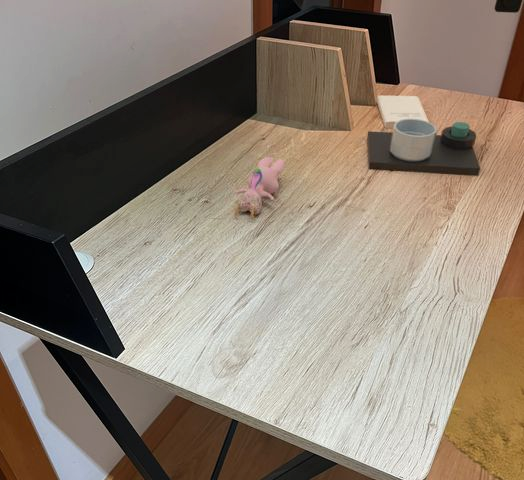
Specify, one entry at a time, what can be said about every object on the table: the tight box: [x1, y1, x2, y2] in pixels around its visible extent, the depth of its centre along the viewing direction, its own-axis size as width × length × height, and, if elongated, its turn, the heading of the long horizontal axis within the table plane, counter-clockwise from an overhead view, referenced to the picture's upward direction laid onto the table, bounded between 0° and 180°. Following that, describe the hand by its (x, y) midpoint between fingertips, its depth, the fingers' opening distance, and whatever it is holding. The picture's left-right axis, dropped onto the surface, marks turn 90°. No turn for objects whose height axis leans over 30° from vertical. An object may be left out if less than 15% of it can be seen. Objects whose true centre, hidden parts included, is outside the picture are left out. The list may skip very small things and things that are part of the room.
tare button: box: [451, 121, 471, 138], centre depth 99 cm, size 3×3×2 cm
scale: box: [366, 125, 481, 177], centre depth 98 cm, size 18×12×3 cm
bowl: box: [390, 119, 438, 161], centre depth 95 cm, size 7×7×4 cm
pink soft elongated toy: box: [233, 156, 285, 222], centre depth 87 cm, size 6×6×15 cm
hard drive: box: [376, 94, 430, 130], centre depth 111 cm, size 2×8×12 cm
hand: (499, 2), depth 80 cm, fingers open, 9 cm apart
